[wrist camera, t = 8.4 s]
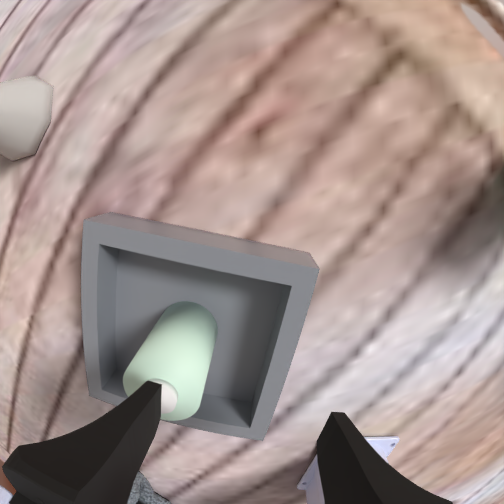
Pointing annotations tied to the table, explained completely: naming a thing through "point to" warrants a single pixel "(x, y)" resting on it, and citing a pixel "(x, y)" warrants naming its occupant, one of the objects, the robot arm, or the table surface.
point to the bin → (205, 294)
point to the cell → (176, 359)
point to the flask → (23, 115)
